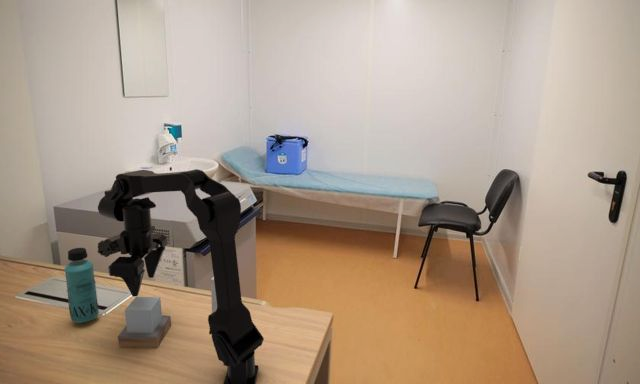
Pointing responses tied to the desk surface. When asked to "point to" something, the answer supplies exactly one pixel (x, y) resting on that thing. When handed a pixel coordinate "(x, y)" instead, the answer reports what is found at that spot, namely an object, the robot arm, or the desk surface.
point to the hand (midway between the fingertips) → (143, 286)
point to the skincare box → (213, 296)
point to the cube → (143, 315)
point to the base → (145, 336)
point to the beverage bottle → (81, 287)
